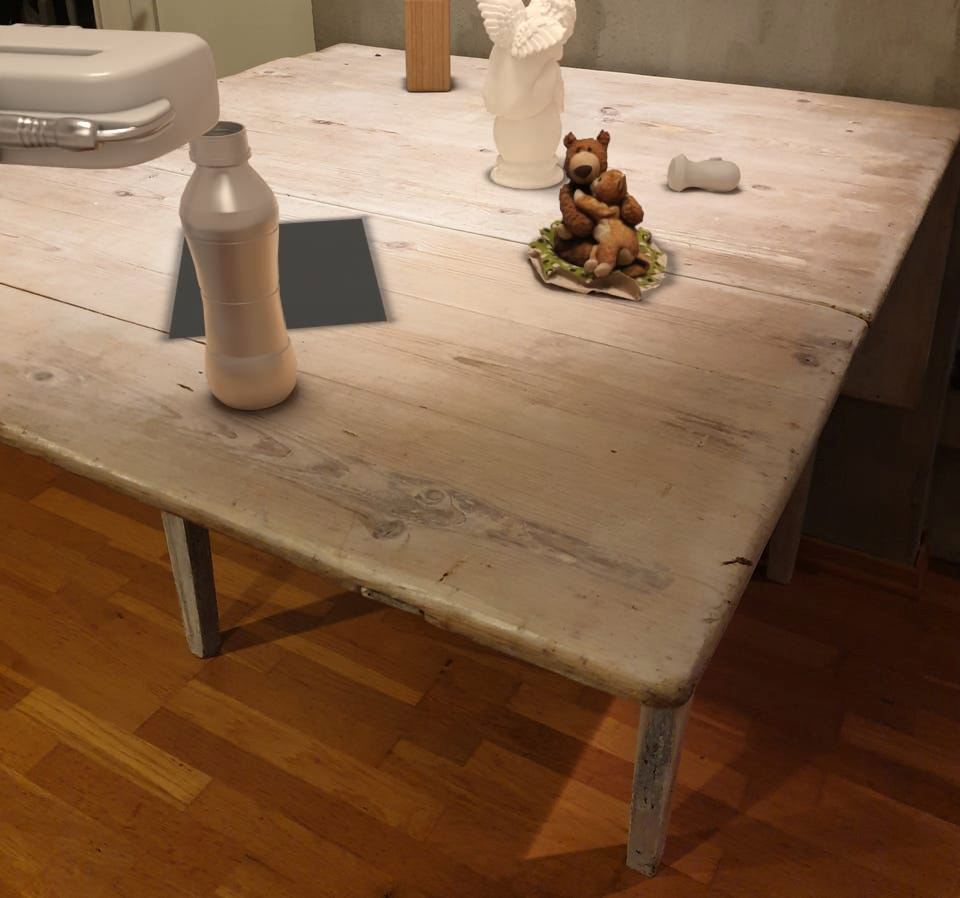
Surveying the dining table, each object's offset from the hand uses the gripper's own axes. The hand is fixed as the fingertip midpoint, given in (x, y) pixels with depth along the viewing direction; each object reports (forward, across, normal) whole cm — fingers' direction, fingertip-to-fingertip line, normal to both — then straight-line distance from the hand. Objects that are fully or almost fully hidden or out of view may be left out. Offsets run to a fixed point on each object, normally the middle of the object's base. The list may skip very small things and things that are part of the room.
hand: (57, 43), depth 45 cm
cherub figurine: (+64, -16, +28) cm, 72 cm away
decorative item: (+106, +5, +28) cm, 110 cm away
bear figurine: (+42, -25, +28) cm, 56 cm away
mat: (+36, +5, +28) cm, 46 cm away
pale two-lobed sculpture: (+66, -35, +28) cm, 80 cm away
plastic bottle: (+14, -1, +28) cm, 32 cm away
